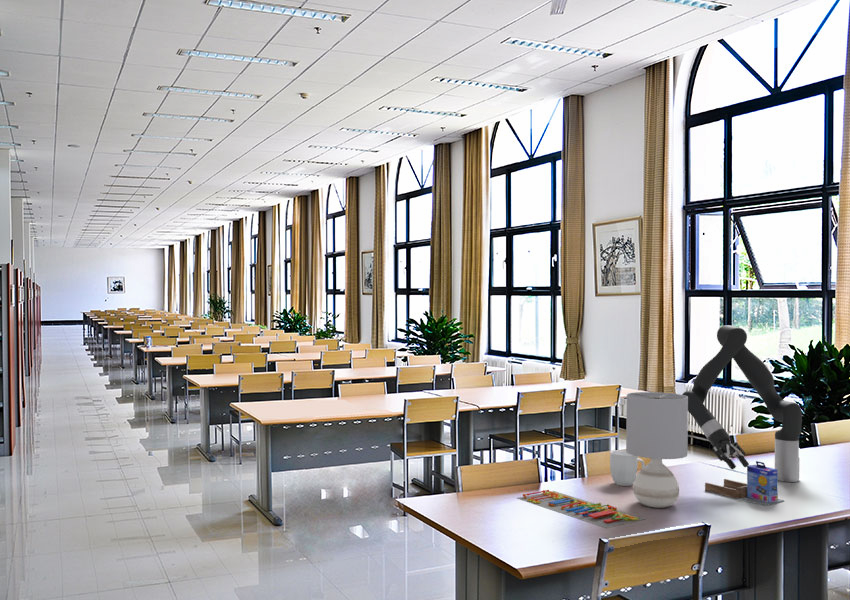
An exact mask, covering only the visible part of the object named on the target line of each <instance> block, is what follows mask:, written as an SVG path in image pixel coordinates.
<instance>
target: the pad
mask: <svg viewBox="0 0 850 600" xmlns="http://www.w3.org/2000/svg"><path fill="white" fill-rule="evenodd" d="M740 500H741V501H744V502H748V503H749V502H750V503H753V504H756V505H760V506H765V507H766V506H771V505H775V504H779V503H784V502H785V500H784V499H780V498H778V501H777V502H771V503H767V502H763V501H760V500H756V499H752V498H749V497H744V498H740Z"/></svg>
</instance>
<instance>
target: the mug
mask: <svg viewBox="0 0 850 600" xmlns="http://www.w3.org/2000/svg"><path fill="white" fill-rule="evenodd" d="M609 452H610V453H609V469H610V476H611V478H612V481H613V482H614V484H615V485H616V486H619V485H620V487H630V486H633V483H634V480H635V478H636V476H637V474H638V465H639V464H638V463H639V462H640V463H641V469H642V468H643V467H645V466H646V465H645V464H646V463H645V461H644V460H643V459H642V458H641V457H638V456H634V455H631V454H628V453H627V452H626V449H617V450H615V449H613V450H610V451H609Z"/></svg>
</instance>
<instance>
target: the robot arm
mask: <svg viewBox="0 0 850 600" xmlns="http://www.w3.org/2000/svg"><path fill="white" fill-rule="evenodd" d="M716 339H717V342H718V343H719V344H720V346H721V348H720V349H719V351H718V352H717V354H716V355H714V356H713V357H712V358H711V359H710V360H709V361H707V362H706V364H704V366H702V368H701V369H700V371H699V372H698V374H697V375H696V376H695V378H694V380H693V385H692V386H693V387H692V389H691V390H686V391H684V392H683V393H682V394H681V395H685V396H687V397H688V413H689V414H690V415H691V416H692V418H693V419H694V420H695V423H696V424H697V425H698V426H699V428H700V429H701V430H702V433H703V435H704V436H705V437H706V439H707V440H708V441H709V442H710V444H711V445H712V451H713V453H714V454H715V455H716V457H717V458H718V459H719V461H720V462H724V463H726V464H727V466H728V467H729V468H730V470H735V469H736V468H737V465H736V464H735V462H734V461H733V460H732V458H731V457H734V458H736V459H737V460H738V461H739V462H740V464H741V465H742V466H743V468H747V466H749V465H750V463H749V462H748V460H747V459H746V457H745V455H746V452H745V451H744V450H743V449H742V447H741V445H740V444H739V443H738V442H737V441H735V442H734V443H732V442H731V441H730V440H731V436H730V434H728V432H727V431H726V429H725V428H724V427H723V425H722V424H721V423H720V421H718V420H717V418H716V417H715V416H714V415H713V413H712V412H711V410H709V409H708V408H707V407H706V405H705V404H704V403H705V400H706V398H707V396H708V393H709V390H710V389H711V388H712V387H713V386H714V384H715V382H716V380H717V378H718V377H719V376H720V374H721V373H722V371H723V370H724V369H725V367H726V366H727V365H728V364H729V363H730V362H731V361H732V360H733V361H734V362H735V364H737V366H738V368H739V369H740V370H741V373H742V374H743V375H744V377H745V378H746V379H747V381H748V382H749V384H750V385H751V386H752V388H754V390H755V391H756V393H757V394H758V395H759V397H760V398H761V399H762V401H763V403H764V404H765V406H766V408H767V410H768V412H769V413H770V416H771V417H772V418H773V419H774V420H775V421H777V422H780V423H782V424H781V429H779V430H776V431H775V432H774V469H777V480H778V481H780V482H788V483H795V482H796V483H797V482H799V480H800V449H799V448H800V446H799V445H800V435H801V433H802V424H803V422H802V421H803V419H802V418H803V411H802V408H801V406H800V405H799V404H798V403H796V402H793V401H787V400H784V399H783V398H782V397H781V396H780V394H779V393H778V392H777V390H776V389H775V379H774V376H773V374H772V372H771V371H770V370H769V368H768V367H767V365H766V364H765V363H764V361H762V360H761V358H759V357H758V356H757V355H755V354H754V353H753V352H752V351H751V350H749V349H748V347H747V346H746V345H745V344H747V343H746V342H747V339H748V334H747V332H746V330H744V329H743V328H742V327H739V326H735V325H729V324H728V325H727V324H726V325H722V326H720V327H719V328H718V330H717V332H716ZM730 456H731V457H730Z"/></svg>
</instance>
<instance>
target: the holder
mask: <svg viewBox="0 0 850 600" xmlns="http://www.w3.org/2000/svg"><path fill="white" fill-rule="evenodd" d="M704 491H707V492H710V493H714V494H718V495H723V496H726V497H730V498H734V499H742V498H747V483H745V482H742V481H741V482H740V481H736V480H731V479H729V478H728V479H727V478H724V479H723V486H722V485H718V484H714V483H709V482H705V483H704Z"/></svg>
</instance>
